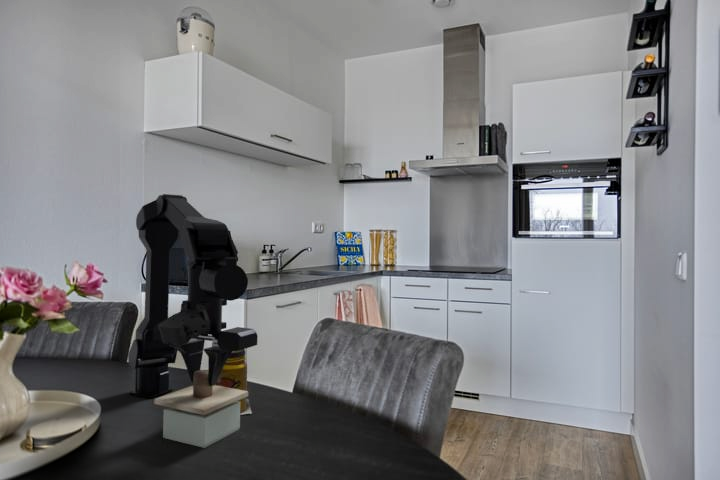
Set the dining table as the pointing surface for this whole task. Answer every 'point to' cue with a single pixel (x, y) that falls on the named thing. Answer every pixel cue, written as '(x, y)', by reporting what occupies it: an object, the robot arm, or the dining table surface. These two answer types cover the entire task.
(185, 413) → the mint green open box
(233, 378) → the condiment
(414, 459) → the dining table surface
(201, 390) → the lid
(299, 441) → the dining table surface
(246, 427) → the dining table surface
